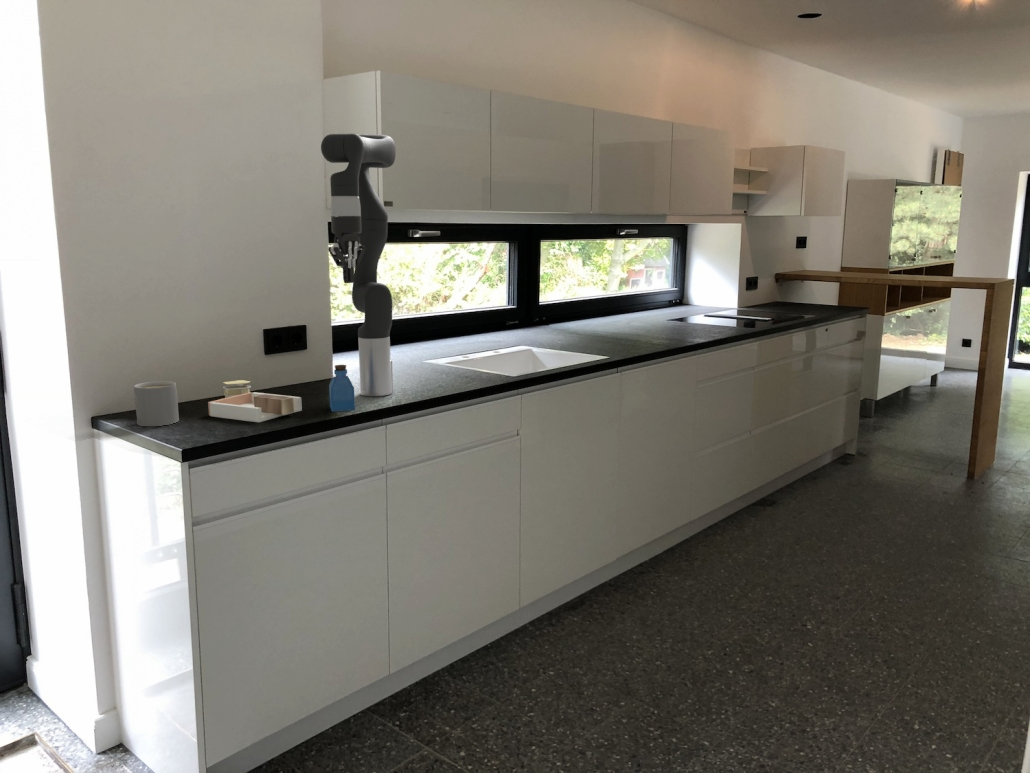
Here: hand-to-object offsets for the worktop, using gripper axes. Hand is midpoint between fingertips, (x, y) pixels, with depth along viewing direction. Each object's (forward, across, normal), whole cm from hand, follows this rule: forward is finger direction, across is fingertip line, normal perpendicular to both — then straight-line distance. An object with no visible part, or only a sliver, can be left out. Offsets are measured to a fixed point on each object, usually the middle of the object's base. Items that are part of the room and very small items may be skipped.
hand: (348, 282), depth 220 cm
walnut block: (+32, +10, -14) cm, 36 cm away
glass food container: (+36, -2, -44) cm, 56 cm away
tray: (+35, +10, -25) cm, 44 cm away
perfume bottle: (+35, -5, -8) cm, 36 cm away
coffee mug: (+35, +28, -40) cm, 60 cm away
